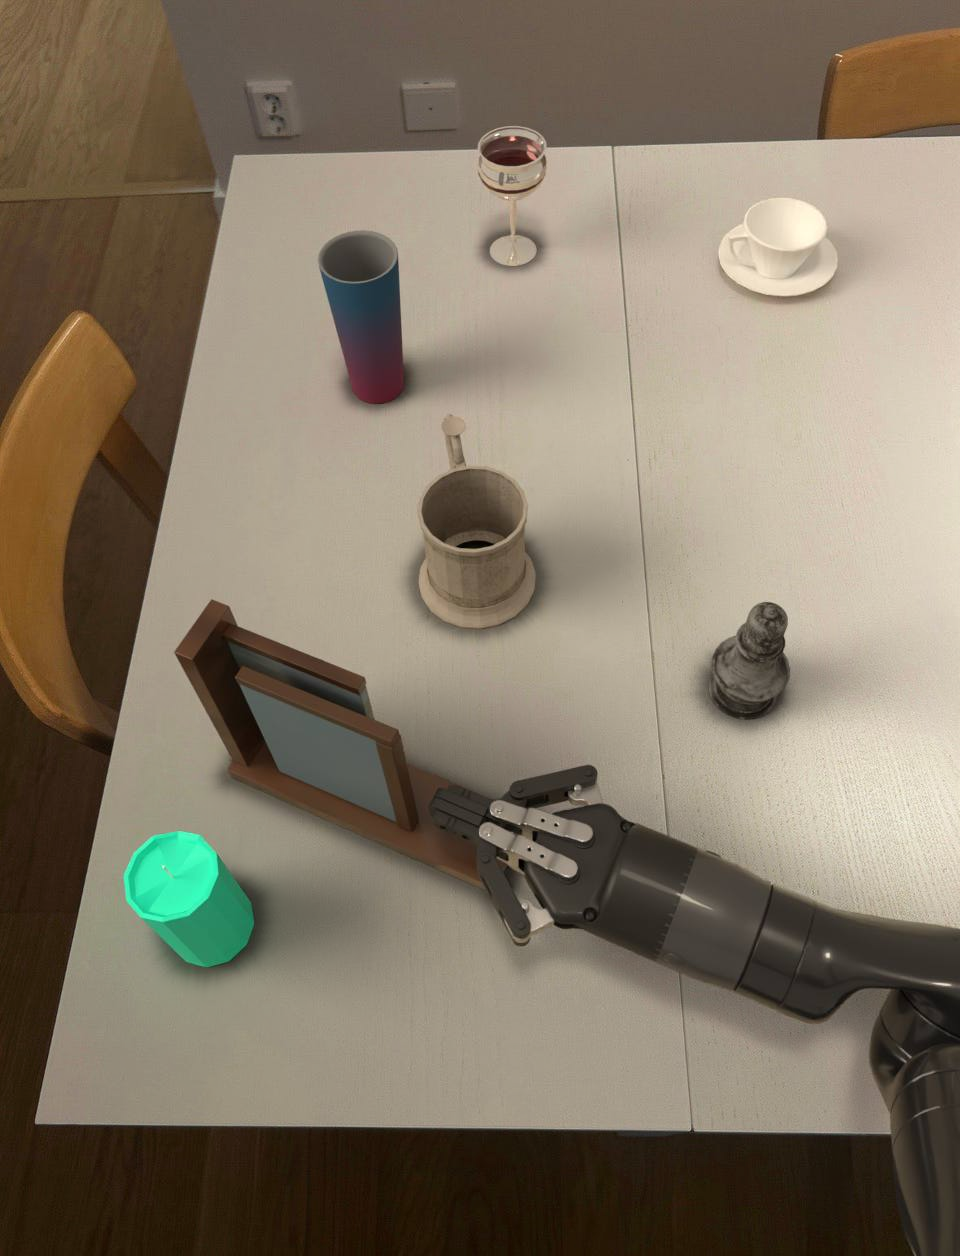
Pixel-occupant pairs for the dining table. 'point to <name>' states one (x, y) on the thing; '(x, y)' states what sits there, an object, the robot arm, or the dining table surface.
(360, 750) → the glass door
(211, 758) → the dining table surface
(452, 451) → the mug
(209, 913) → the candle
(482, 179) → the wineglass
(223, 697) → the screen frame
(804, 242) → the teacup
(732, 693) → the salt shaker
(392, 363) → the cup
